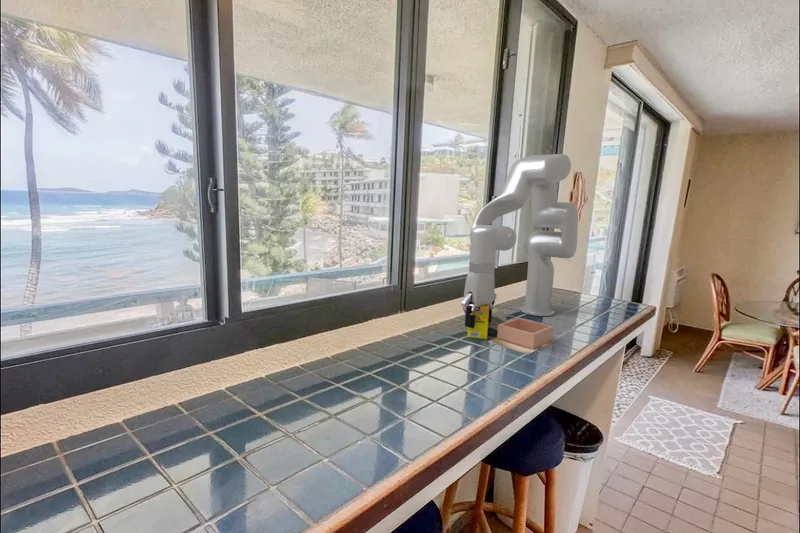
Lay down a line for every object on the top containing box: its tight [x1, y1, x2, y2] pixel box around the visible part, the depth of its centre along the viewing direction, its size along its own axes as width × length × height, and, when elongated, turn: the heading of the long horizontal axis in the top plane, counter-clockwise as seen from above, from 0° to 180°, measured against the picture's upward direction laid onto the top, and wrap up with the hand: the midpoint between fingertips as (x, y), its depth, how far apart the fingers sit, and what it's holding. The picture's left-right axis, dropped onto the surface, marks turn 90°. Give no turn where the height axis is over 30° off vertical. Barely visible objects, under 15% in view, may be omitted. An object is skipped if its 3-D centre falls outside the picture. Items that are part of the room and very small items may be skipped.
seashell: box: [488, 307, 508, 332], centre depth 133 cm, size 13×8×10 cm
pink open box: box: [496, 317, 554, 350], centre depth 121 cm, size 12×12×4 cm
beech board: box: [487, 337, 555, 355], centre depth 120 cm, size 16×13×1 cm
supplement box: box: [467, 303, 489, 340], centre depth 124 cm, size 6×6×11 cm
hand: (478, 324), depth 125 cm, fingers closed on supplement box, 8 cm apart
